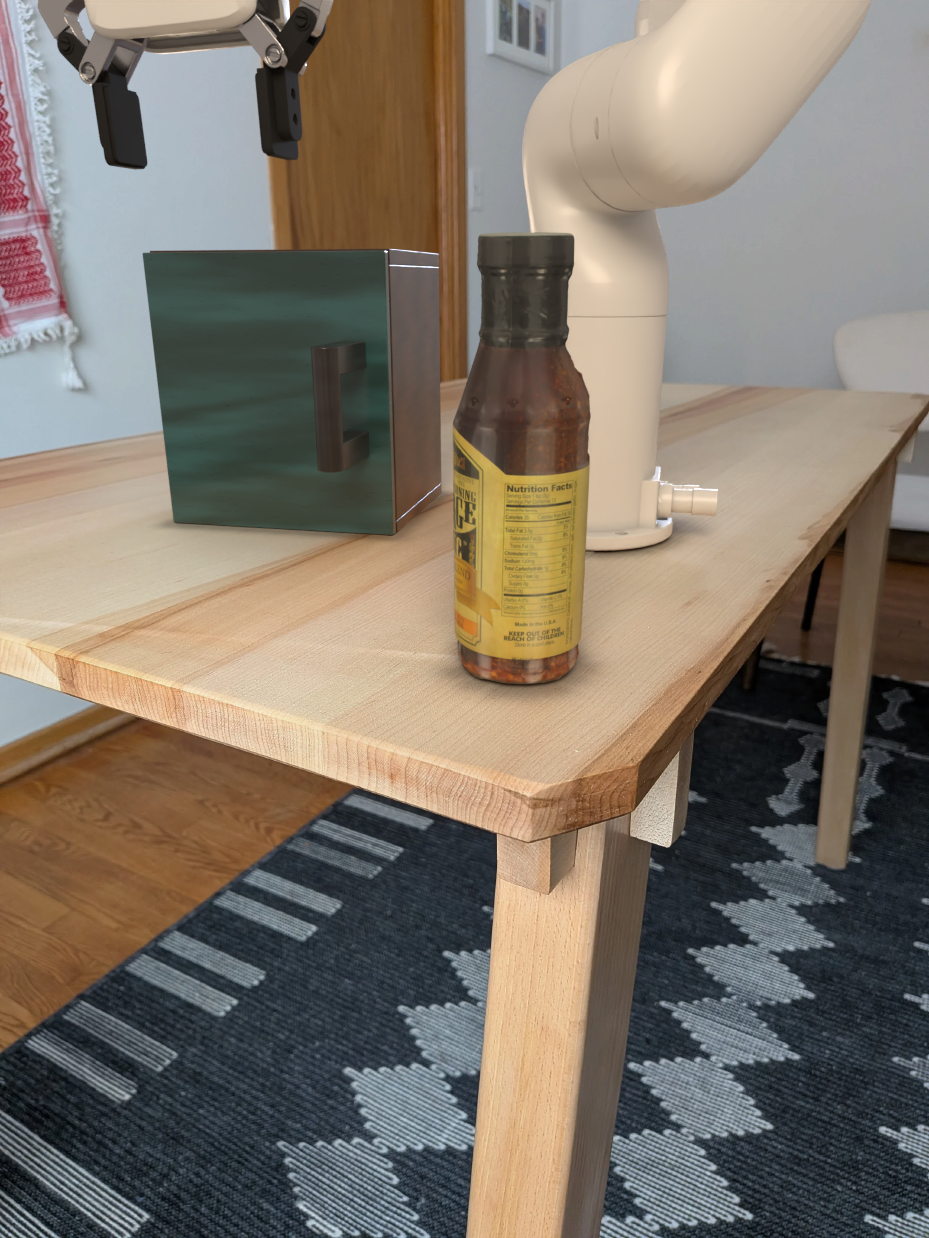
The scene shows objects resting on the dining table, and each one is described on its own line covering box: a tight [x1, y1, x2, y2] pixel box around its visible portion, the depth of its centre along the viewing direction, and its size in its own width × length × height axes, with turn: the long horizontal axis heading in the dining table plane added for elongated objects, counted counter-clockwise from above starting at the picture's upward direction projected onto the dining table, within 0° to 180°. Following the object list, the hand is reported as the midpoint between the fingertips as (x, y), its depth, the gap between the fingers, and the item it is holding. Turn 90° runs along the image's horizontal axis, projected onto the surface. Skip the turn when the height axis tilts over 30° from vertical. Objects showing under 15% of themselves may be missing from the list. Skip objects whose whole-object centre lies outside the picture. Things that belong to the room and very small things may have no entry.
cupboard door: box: [142, 251, 397, 536], centre depth 64 cm, size 7×18×20 cm, turn 77°
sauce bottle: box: [452, 232, 591, 685], centre depth 42 cm, size 7×6×20 cm
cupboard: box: [149, 248, 442, 533], centre depth 74 cm, size 14×18×20 cm
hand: (202, 162), depth 51 cm, fingers open, 9 cm apart
